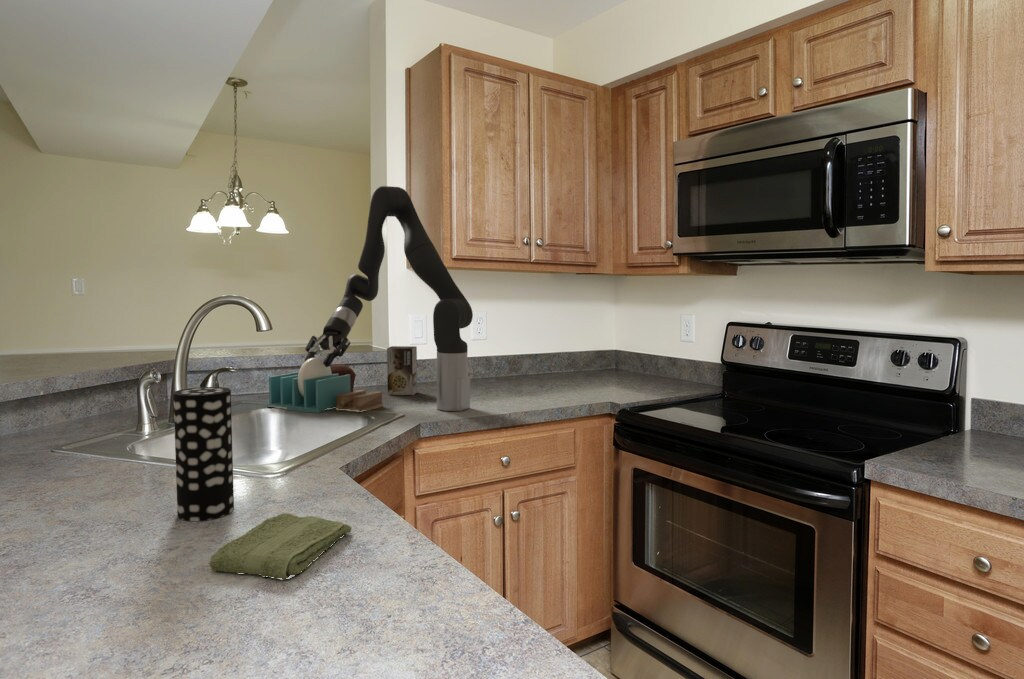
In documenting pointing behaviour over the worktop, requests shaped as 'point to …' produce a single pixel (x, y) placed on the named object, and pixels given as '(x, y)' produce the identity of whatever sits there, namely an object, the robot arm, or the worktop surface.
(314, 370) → the plate
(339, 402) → the plate stand
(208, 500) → the spotted tube
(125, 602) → the worktop surface
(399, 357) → the coffee box
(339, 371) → the muffin
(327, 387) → the rack
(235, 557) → the washcloth
